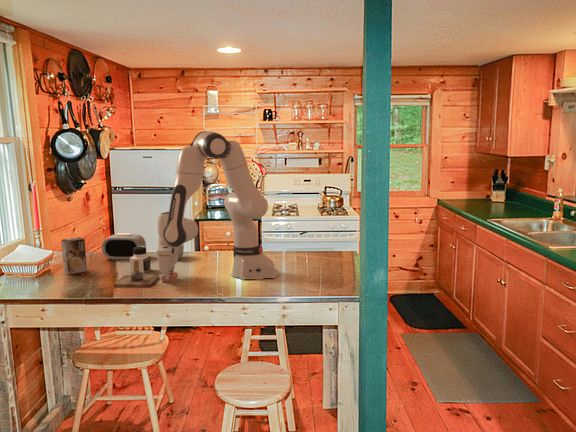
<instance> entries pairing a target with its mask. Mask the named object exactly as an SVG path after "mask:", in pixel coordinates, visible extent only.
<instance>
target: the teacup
mask: <svg viewBox="0 0 576 432" xmlns="http://www.w3.org/2000/svg"><path fill="white" fill-rule="evenodd" d="M184 245H185V243H183V244H182V245H180V246H179V250H178V251H177V253H178V260H180V259H181V258H183V255H184Z"/></svg>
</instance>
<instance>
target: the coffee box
mask: <svg viewBox="0 0 576 432" xmlns="http://www.w3.org/2000/svg"><path fill="white" fill-rule="evenodd" d="M61 250H62V251H61V252H62V262H63V263H62V264H63V272H64V273H65V274H67V275H73V274H78V273H79V274H80V273H85V272H88V267H87V255H86V243H85V238H83V237H79V236H78V237H71V238H64V239H61Z"/></svg>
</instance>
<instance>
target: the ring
mask: <svg viewBox="0 0 576 432" xmlns="http://www.w3.org/2000/svg"><path fill="white" fill-rule="evenodd" d="M169 275H170V279H168V280H166V279H165V274H164V273H162V275H161V283H176V282H177V281H178V272H177V271H176V272H175V271H174V272H169Z"/></svg>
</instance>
